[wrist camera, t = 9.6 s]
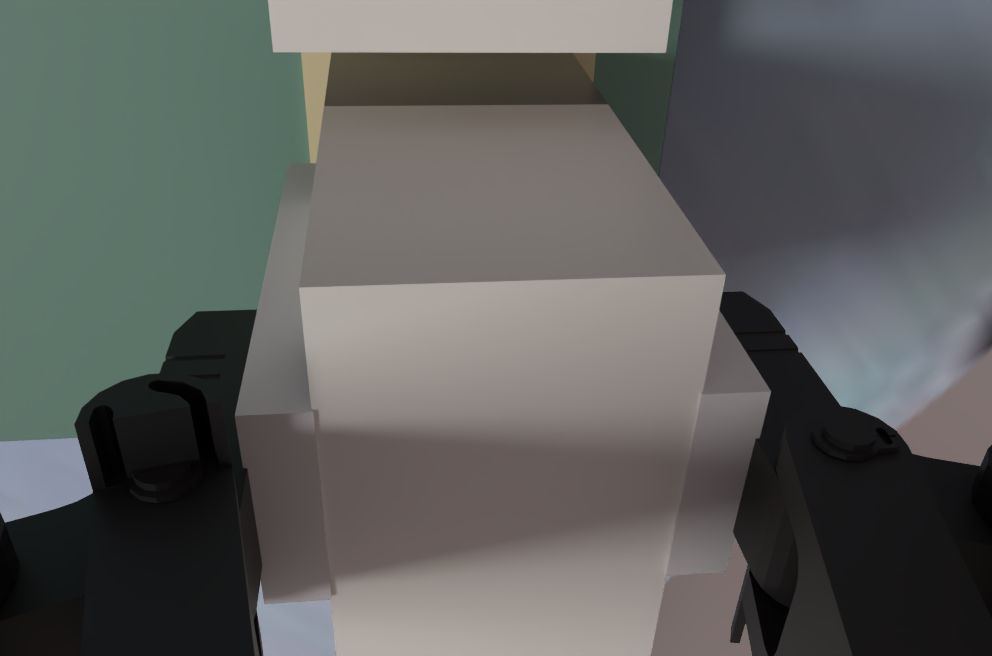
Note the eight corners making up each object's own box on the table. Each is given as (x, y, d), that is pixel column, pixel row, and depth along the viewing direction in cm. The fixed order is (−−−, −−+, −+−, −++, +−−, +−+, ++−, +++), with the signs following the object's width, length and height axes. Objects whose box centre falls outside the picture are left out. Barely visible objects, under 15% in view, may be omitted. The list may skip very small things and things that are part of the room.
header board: (-406, -759, 10) (-1029, -1177, 6) (738, -644, 12) (968, -900, 7) (-8, 398, 19) (-125, 595, 15) (610, 372, 21) (676, 542, 16)
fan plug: (332, 46, 15) (298, 287, 8) (568, 47, 15) (726, 274, 8) (352, 347, 18) (340, 697, 11) (546, 340, 18) (647, 672, 12)
